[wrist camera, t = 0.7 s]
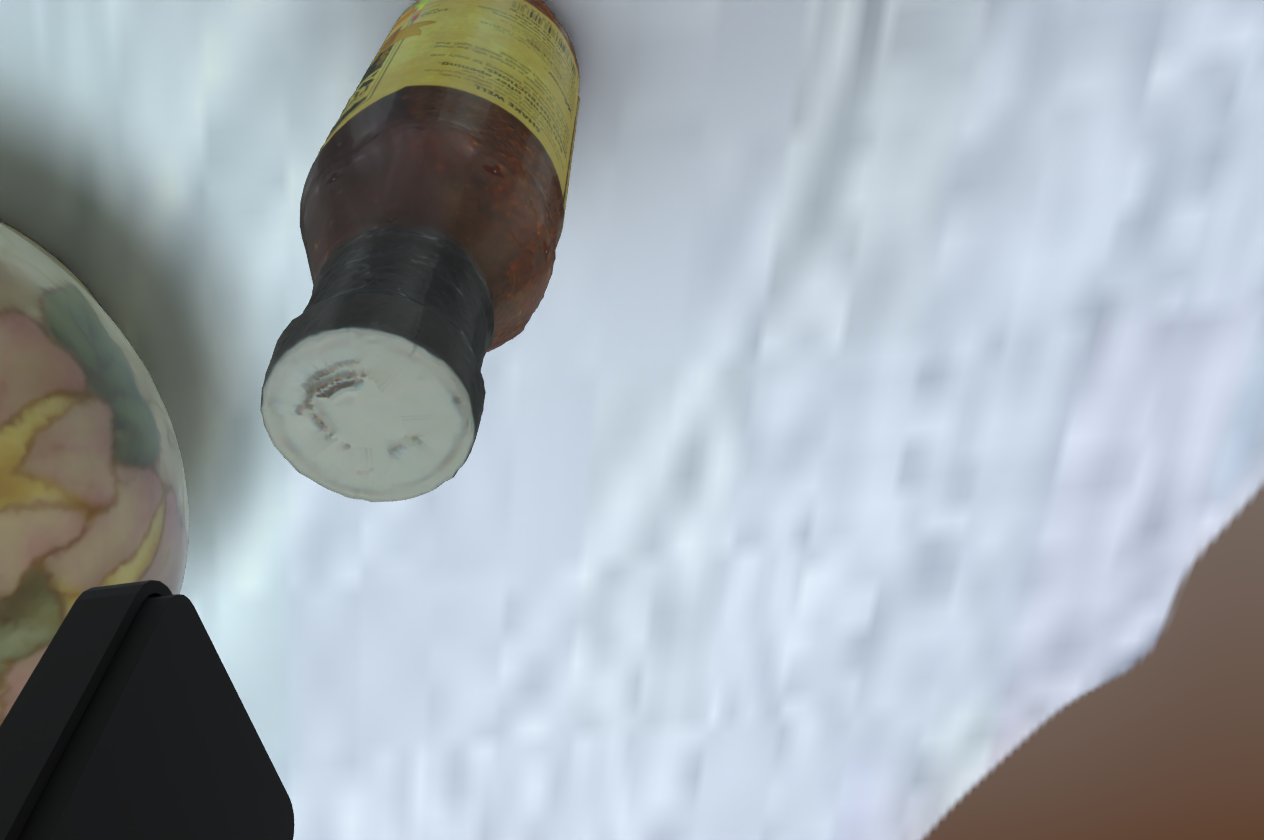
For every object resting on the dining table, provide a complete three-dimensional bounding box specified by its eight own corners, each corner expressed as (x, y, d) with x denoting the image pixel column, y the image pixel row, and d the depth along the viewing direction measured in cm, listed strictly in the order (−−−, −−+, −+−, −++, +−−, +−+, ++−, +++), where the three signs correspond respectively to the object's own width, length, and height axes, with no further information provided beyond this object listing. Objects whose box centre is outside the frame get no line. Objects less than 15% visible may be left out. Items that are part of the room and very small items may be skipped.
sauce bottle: (383, -35, 36) (154, 224, 19) (586, -25, 36) (531, 240, 19) (398, 168, 40) (214, 534, 23) (582, 176, 40) (532, 547, 23)
